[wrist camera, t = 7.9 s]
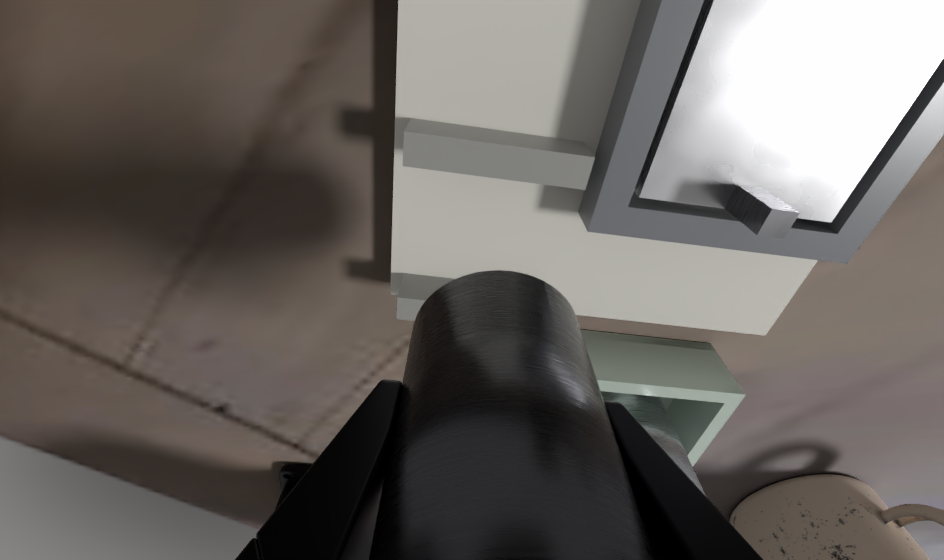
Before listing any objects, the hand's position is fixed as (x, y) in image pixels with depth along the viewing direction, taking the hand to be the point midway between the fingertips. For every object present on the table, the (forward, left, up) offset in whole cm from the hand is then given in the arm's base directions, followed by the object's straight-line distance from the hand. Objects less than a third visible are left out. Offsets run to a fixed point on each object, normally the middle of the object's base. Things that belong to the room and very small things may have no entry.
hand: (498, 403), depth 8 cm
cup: (+8, -8, -9) cm, 14 cm away
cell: (0, 0, -2) cm, 2 cm away
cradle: (+7, +6, -7) cm, 12 cm away
